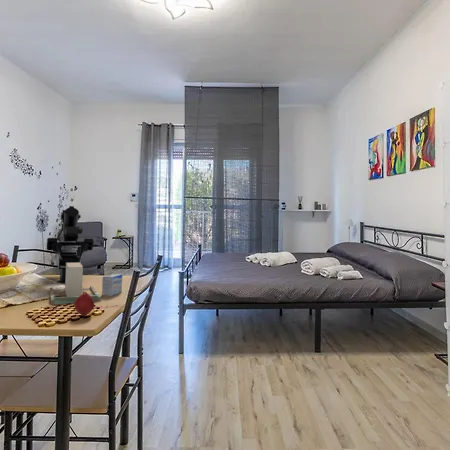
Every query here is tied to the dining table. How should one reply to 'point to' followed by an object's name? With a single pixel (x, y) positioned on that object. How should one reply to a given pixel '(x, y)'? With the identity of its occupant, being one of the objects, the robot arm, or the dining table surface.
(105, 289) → the medicine box
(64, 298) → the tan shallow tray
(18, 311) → the dining table surface
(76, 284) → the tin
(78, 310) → the onion
